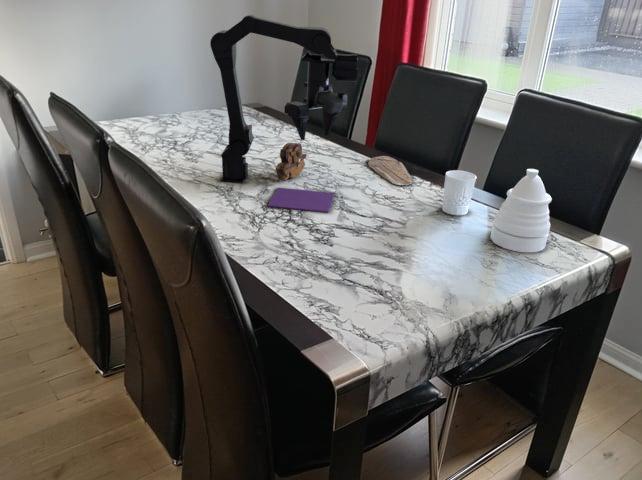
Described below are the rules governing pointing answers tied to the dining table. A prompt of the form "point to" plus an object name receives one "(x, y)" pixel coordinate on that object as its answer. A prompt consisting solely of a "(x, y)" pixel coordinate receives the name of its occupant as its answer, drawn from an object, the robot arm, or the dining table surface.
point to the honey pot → (523, 216)
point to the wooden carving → (290, 161)
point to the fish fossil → (390, 170)
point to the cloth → (302, 200)
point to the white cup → (458, 192)
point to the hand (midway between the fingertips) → (314, 137)
